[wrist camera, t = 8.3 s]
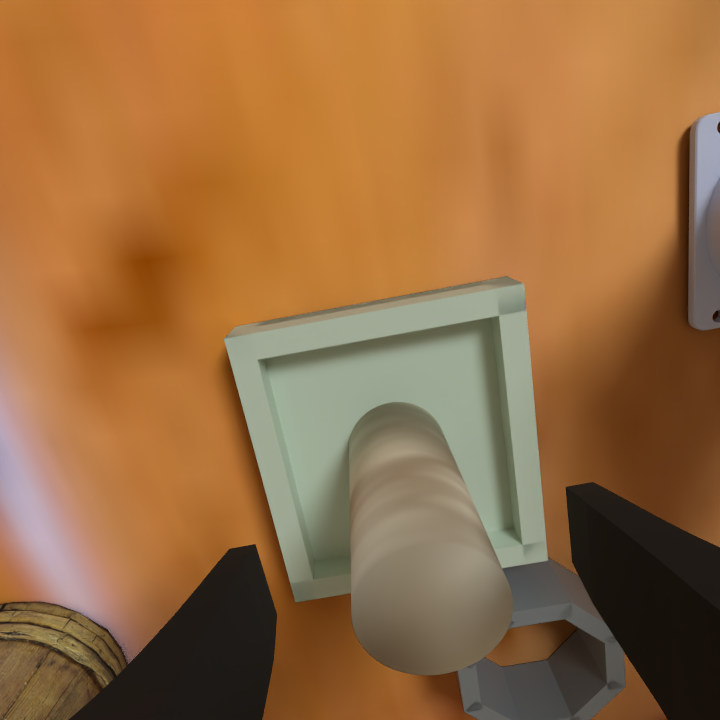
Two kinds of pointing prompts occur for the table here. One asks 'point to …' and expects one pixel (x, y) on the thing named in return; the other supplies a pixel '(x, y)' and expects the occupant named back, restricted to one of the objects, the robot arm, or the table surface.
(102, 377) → the table surface
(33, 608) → the brown wooden container
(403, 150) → the table surface
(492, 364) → the tray
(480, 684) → the octagonal ring
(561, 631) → the table surface
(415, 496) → the dowel
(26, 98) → the table surface
